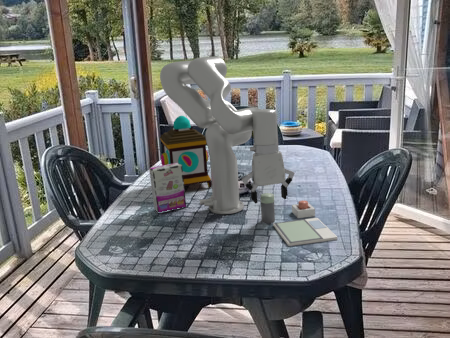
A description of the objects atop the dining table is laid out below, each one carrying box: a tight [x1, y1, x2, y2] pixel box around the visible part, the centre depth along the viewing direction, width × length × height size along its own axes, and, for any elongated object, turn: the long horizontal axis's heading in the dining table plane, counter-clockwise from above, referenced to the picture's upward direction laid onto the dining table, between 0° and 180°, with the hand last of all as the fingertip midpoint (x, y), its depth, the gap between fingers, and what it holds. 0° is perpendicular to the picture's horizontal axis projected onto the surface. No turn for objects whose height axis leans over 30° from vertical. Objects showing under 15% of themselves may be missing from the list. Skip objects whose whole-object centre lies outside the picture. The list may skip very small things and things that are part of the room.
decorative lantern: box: [159, 115, 212, 188], centre depth 184 cm, size 20×20×30 cm
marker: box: [260, 192, 276, 225], centre depth 145 cm, size 4×4×9 cm
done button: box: [297, 200, 309, 210], centre depth 150 cm, size 3×3×3 cm
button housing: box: [291, 202, 316, 219], centre depth 150 cm, size 6×6×3 cm
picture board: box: [272, 217, 339, 247], centre depth 136 cm, size 15×16×1 cm
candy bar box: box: [148, 163, 187, 213], centre depth 160 cm, size 11×5×16 cm, turn 117°
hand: (269, 200), depth 144 cm, fingers open, 9 cm apart
